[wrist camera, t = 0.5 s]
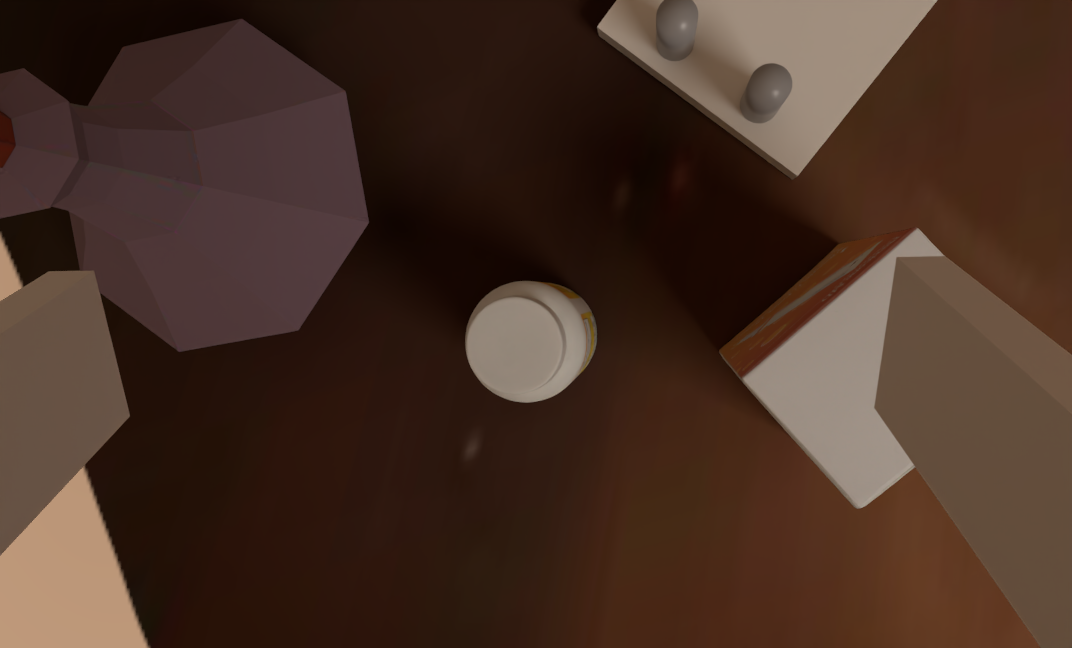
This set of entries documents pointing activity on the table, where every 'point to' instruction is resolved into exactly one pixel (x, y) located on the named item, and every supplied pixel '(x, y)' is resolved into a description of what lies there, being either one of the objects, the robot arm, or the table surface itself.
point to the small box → (832, 362)
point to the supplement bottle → (530, 340)
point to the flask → (194, 181)
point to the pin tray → (766, 61)
